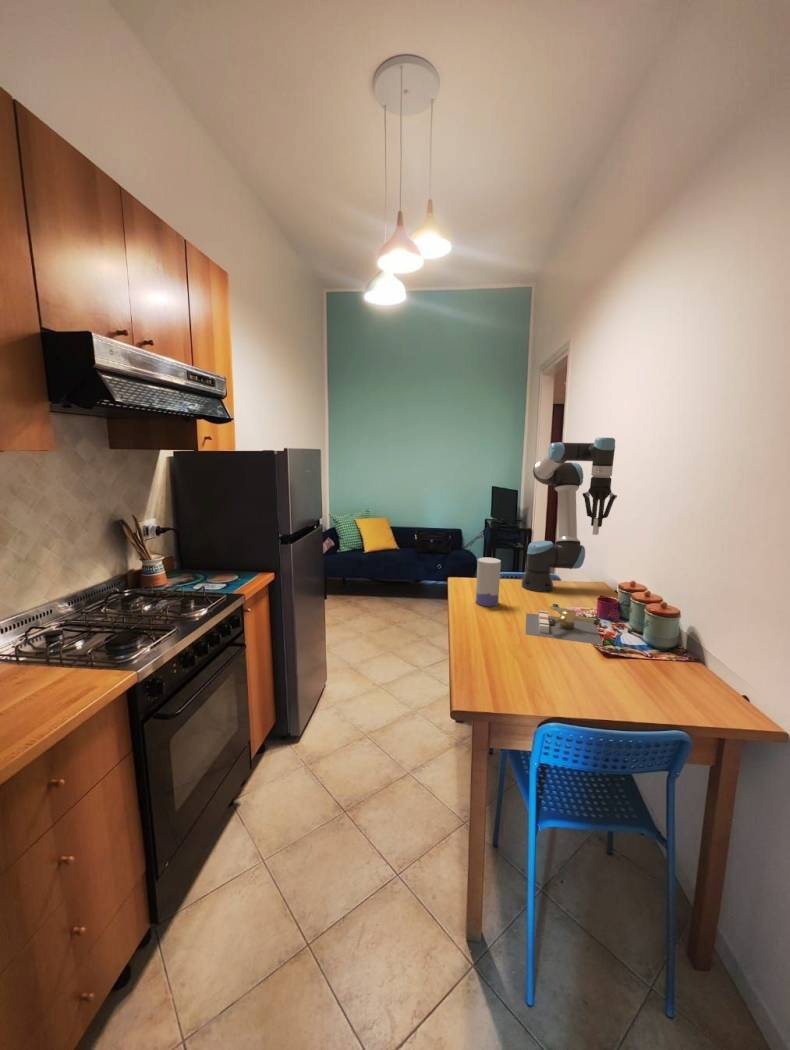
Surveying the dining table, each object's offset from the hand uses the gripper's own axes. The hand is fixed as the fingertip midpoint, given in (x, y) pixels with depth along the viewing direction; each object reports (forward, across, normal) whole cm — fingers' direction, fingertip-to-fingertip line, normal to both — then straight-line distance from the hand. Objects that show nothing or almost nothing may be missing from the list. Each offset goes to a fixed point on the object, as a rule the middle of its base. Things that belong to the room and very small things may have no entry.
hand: (595, 534), depth 175 cm
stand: (+34, -1, -26) cm, 43 cm away
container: (+35, -37, -20) cm, 54 cm away
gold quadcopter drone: (+33, +2, -23) cm, 40 cm away
